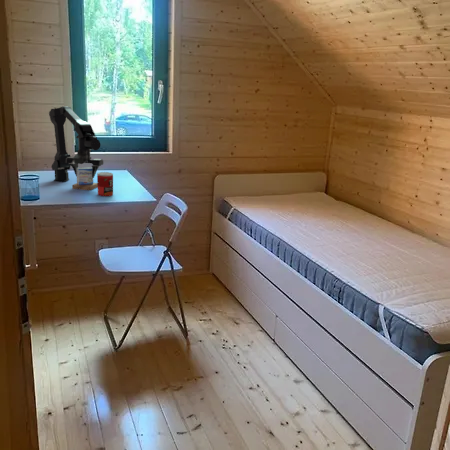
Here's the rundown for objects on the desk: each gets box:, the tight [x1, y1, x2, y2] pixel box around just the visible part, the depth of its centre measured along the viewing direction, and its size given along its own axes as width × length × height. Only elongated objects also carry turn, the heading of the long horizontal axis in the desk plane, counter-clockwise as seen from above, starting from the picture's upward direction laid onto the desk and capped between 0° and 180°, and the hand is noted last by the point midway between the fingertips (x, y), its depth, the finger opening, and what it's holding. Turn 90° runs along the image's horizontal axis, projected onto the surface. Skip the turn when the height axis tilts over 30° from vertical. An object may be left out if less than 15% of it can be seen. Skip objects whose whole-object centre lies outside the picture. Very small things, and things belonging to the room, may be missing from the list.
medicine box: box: [76, 166, 94, 185], centre depth 255 cm, size 8×4×9 cm, turn 119°
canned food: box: [96, 171, 114, 197], centre depth 243 cm, size 8×8×11 cm
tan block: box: [71, 182, 98, 191], centre depth 257 cm, size 10×10×3 cm
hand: (85, 177), depth 255 cm, fingers open, 9 cm apart
